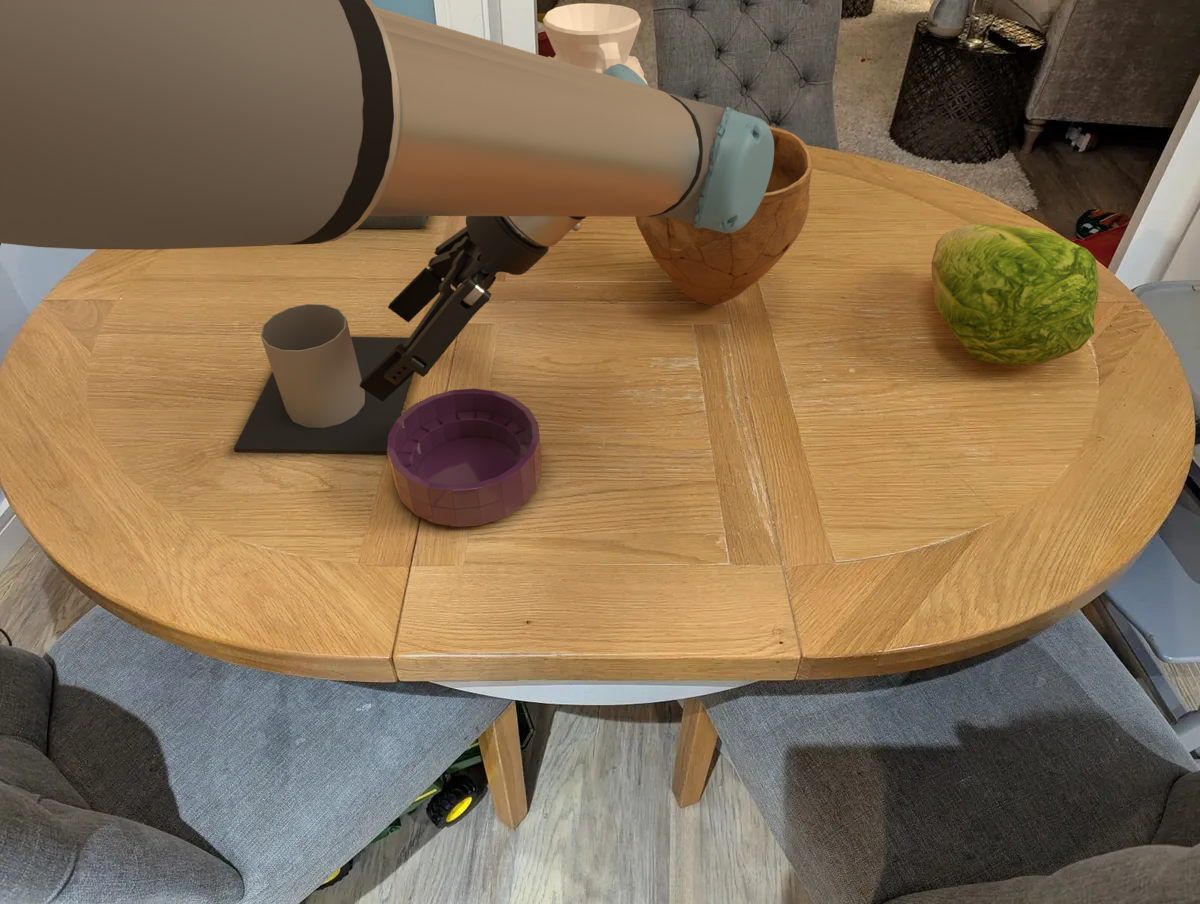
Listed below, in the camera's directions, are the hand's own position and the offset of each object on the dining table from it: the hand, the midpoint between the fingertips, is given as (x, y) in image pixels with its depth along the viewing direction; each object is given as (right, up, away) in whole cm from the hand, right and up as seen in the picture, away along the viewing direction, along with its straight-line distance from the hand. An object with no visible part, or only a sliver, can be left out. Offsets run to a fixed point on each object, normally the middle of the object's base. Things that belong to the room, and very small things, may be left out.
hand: (385, 350), depth 83 cm
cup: (-8, -5, +5) cm, 11 cm away
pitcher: (+21, +31, +45) cm, 59 cm away
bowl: (+36, +9, +21) cm, 43 cm away
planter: (-16, +24, +37) cm, 46 cm away
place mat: (-7, -4, +7) cm, 11 cm away
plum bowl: (+9, -13, -2) cm, 16 cm away
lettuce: (+70, +5, +18) cm, 72 cm away
